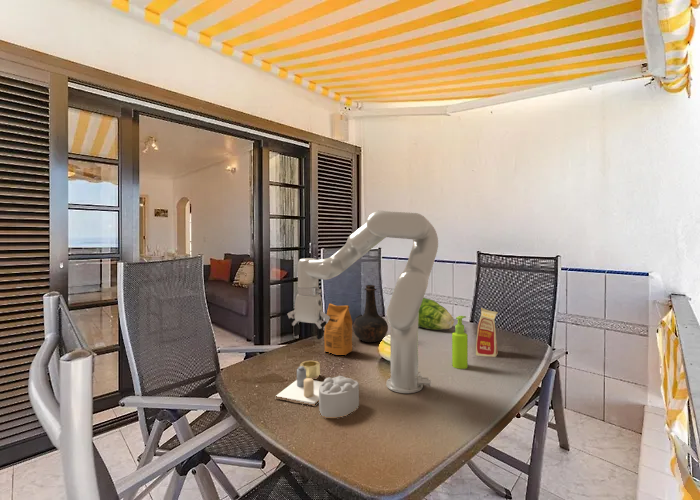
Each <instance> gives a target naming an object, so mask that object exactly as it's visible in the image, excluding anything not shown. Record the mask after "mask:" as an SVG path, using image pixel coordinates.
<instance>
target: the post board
mask: <svg viewBox="0 0 700 500" xmlns="http://www.w3.org/2000/svg"><path fill="white" fill-rule="evenodd" d="M323 382H324V381H319V380H313V379H312V378H306V369H305V368H304V367H303V366H300V365H299V366H298V367H297V369H296V380H294V381H293V382H292V383H290V384H289V385H288V386H287V387H285V388H284V389H283V390H282V391H280V392H279V393H277V394H276V395H275V397H276V396H277V397H282V398H287V399H291V400H296V401H300V402H304V403H309V404H315V403H316V402H317V401H318V400H319V388H320V385H321V384H322V383H323Z"/></svg>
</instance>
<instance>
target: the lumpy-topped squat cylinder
mask: <svg viewBox="0 0 700 500" xmlns="http://www.w3.org/2000/svg"><path fill="white" fill-rule="evenodd" d="M322 382H323V383H322V384H321V385H320V388H319V402H318V412H319V411H320V413H321V415H322V416H325V417H340V416H344V415H347V414H349V413H351V412H353V411H354V410H355V409H356V408H357V409H358V408H359V407H360V397H359V396H360V391H359V389H360V388H359V387H360V386H359V383H360V382H358V380H355V379H352V378H350V377H345V376H343V375H337V376H335V377H330V376H329V377H326V378H324V380H323V381H322ZM358 406H359V407H358ZM357 409H356V410H357ZM356 410H355V411H356ZM355 411H354V412H355ZM354 412H353V413H354ZM320 413H319V414H320ZM351 414H352V413H351ZM321 415H320V416H321Z"/></svg>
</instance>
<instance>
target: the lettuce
mask: <svg viewBox="0 0 700 500" xmlns="http://www.w3.org/2000/svg"><path fill="white" fill-rule="evenodd" d="M454 324H455V319H454V317H453V315H452V314H451V313H450V312H449V311H448V310H447V308H446V307H444V306H443V305H442V304H441V305H440V304H439V303H438V302H437V301H435V300H433V299H430V298H426V297H424V298H423V301H422V303H421V306H420V309H419V317H418V327H420V328H424V329H429V330H437V331H441V330H448V329H451V328H453V326H454Z"/></svg>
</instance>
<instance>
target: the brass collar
mask: <svg viewBox="0 0 700 500" xmlns="http://www.w3.org/2000/svg"><path fill="white" fill-rule="evenodd" d="M300 366H303V367H304V368H305V369H306V378H314V377H317V376H319V375H320V376H321V369H320V368H321V364H320V362H319V361H318V360H313V359H311V360H305V361H302V362H300V364H299V367H300Z"/></svg>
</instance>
